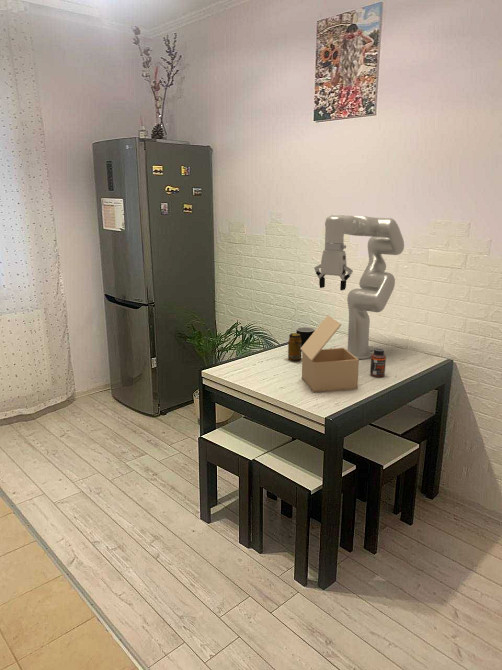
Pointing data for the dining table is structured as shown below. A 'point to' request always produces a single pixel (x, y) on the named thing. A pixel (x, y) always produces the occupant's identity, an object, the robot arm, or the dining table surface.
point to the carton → (330, 370)
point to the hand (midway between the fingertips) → (332, 288)
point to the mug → (305, 333)
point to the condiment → (294, 348)
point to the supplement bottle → (378, 363)
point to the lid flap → (320, 337)
